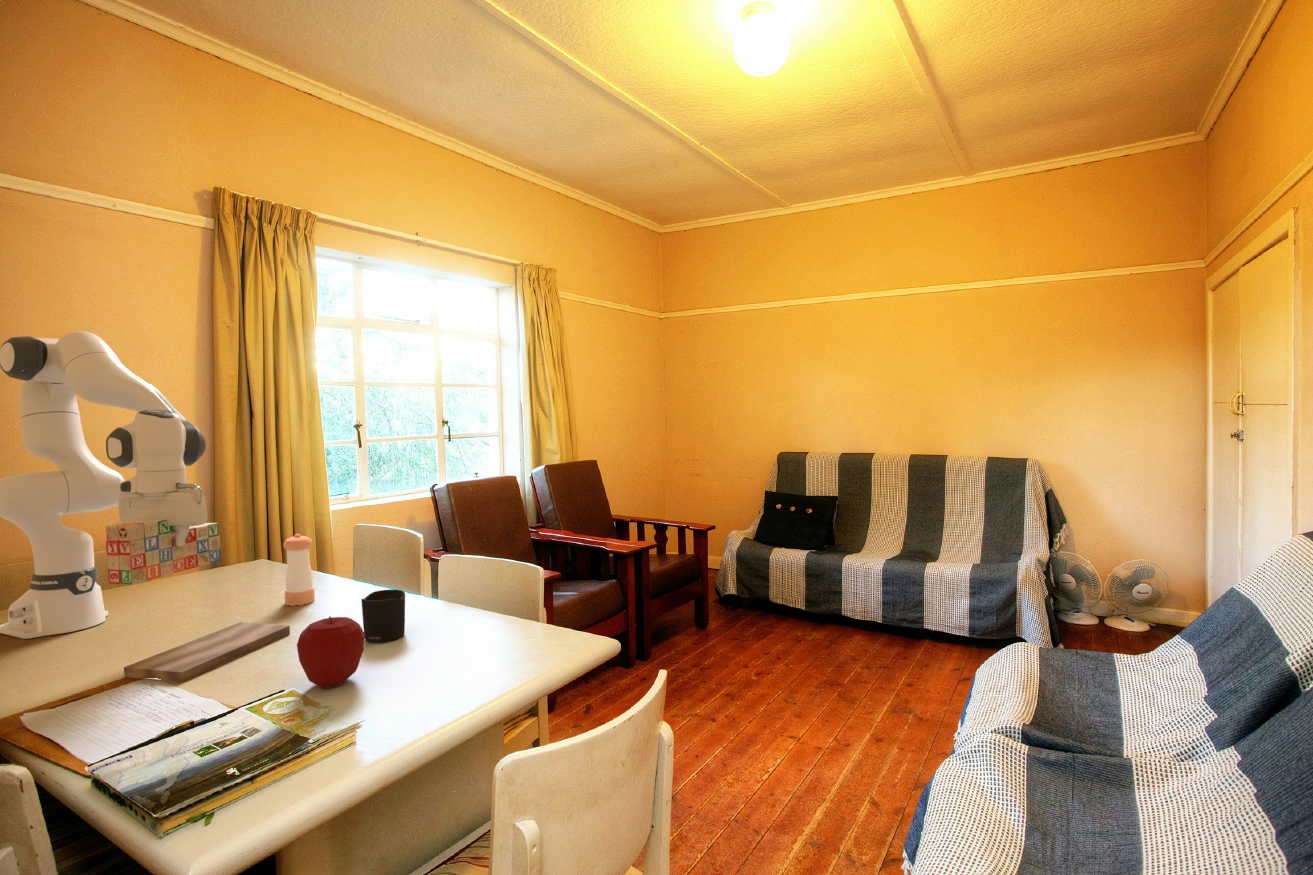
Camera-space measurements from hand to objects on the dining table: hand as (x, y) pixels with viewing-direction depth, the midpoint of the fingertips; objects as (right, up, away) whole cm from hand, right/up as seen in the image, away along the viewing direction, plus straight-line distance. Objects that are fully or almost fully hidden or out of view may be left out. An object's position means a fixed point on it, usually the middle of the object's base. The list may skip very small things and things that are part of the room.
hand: (165, 545), depth 144 cm
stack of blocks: (0, -6, +1) cm, 6 cm away
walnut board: (+12, -24, -1) cm, 26 cm away
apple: (+46, -24, -18) cm, 55 cm away
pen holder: (+45, -23, +8) cm, 52 cm away
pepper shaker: (+10, -22, +37) cm, 44 cm away
